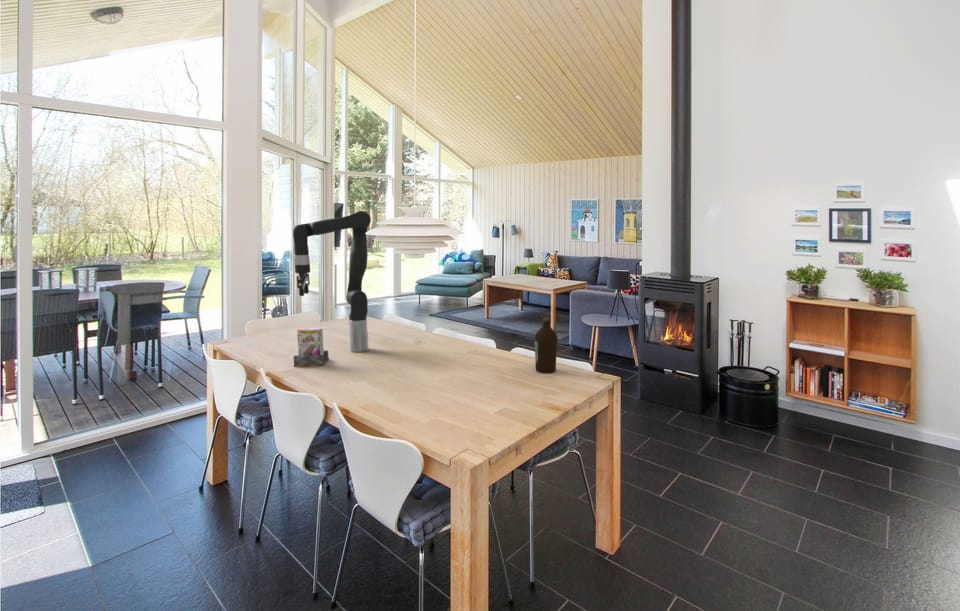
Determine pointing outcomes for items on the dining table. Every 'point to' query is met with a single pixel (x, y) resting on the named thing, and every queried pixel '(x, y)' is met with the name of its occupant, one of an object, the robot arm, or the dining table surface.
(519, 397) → the dining table surface
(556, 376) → the dining table surface
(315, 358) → the rail holder
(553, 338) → the olive oil
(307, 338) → the candy bar box
